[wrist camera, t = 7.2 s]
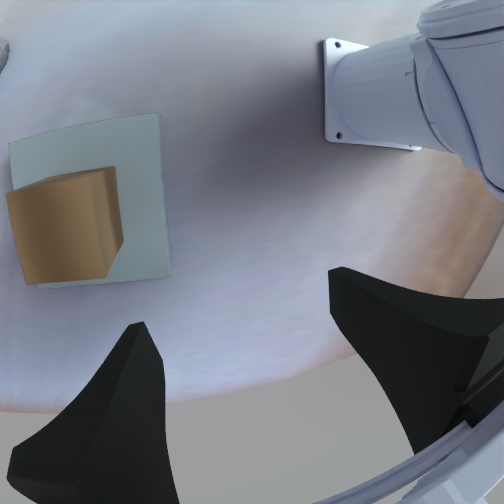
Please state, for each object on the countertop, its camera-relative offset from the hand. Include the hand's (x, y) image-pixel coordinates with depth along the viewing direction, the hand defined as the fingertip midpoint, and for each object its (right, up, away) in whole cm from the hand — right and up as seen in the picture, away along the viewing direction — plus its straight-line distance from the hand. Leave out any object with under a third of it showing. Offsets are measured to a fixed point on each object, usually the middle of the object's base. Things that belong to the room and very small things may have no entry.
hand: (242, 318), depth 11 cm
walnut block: (-9, +5, +4) cm, 12 cm away
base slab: (-10, +6, +7) cm, 14 cm away
